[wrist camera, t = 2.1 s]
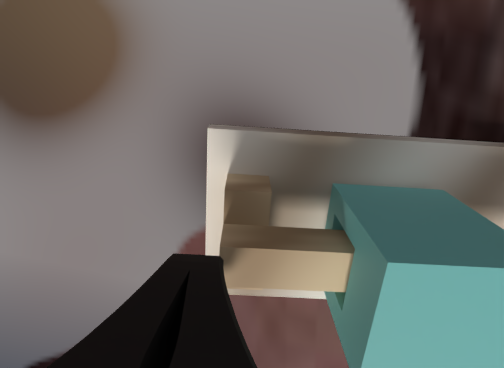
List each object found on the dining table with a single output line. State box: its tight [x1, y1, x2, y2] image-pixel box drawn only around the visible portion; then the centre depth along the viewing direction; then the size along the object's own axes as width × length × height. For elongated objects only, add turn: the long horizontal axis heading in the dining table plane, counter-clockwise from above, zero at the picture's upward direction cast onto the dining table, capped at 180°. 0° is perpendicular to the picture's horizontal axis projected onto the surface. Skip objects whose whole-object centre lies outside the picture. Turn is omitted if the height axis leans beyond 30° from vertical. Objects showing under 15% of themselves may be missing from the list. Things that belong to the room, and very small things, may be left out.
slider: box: [324, 183, 504, 368], centre depth 10 cm, size 4×4×5 cm
